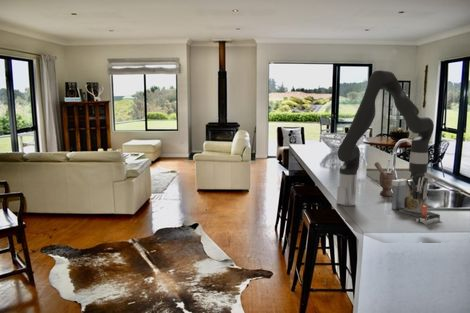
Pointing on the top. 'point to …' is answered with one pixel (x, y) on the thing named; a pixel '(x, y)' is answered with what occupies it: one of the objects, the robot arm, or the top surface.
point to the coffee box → (412, 203)
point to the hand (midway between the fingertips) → (415, 198)
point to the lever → (424, 213)
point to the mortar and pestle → (385, 181)
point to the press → (399, 200)
